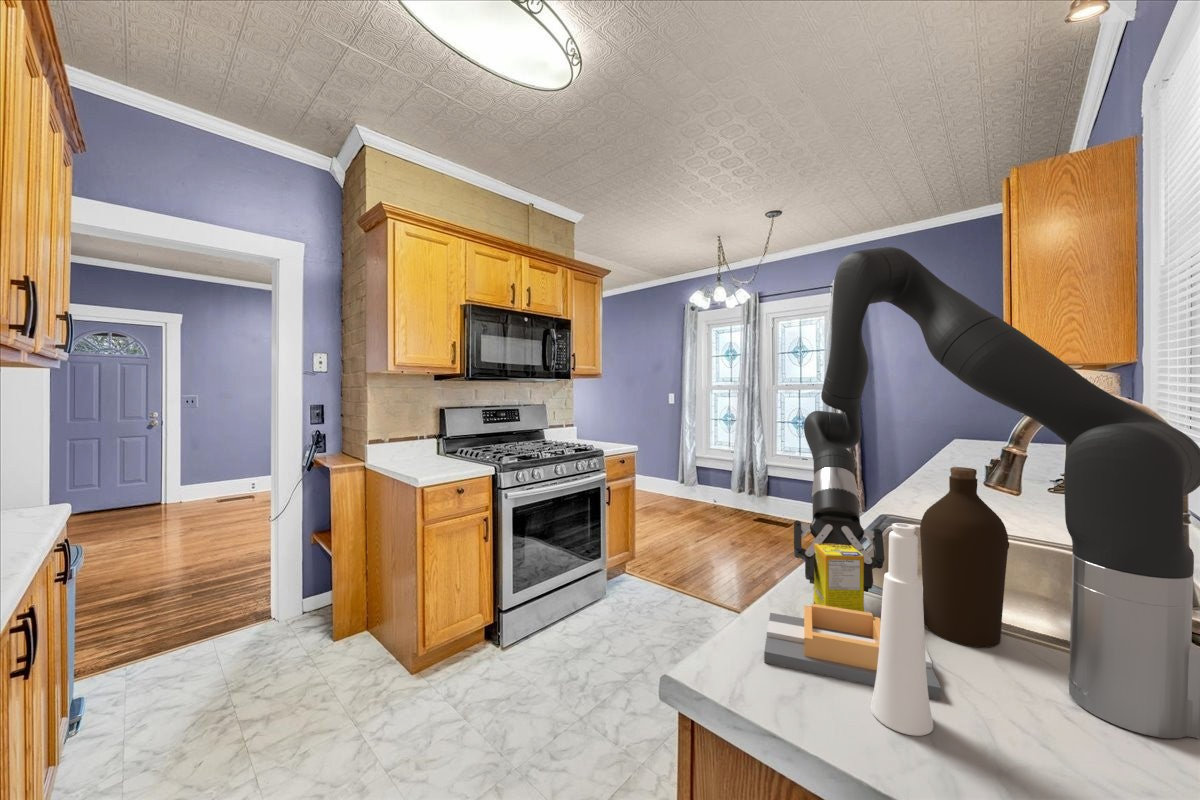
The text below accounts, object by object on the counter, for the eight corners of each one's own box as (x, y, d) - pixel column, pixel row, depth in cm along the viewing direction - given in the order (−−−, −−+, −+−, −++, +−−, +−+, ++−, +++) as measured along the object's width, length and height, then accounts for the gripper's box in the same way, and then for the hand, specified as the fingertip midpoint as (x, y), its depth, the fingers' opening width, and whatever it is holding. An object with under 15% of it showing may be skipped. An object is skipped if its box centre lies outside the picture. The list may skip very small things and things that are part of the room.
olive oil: (953, 651, 67) (956, 475, 66) (903, 615, 78) (905, 463, 77) (1026, 650, 67) (1030, 474, 66) (966, 614, 78) (969, 462, 77)
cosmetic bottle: (939, 743, 50) (943, 536, 49) (874, 727, 52) (876, 529, 52) (926, 707, 56) (928, 521, 55) (867, 694, 58) (869, 515, 57)
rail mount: (918, 648, 68) (918, 617, 68) (940, 700, 57) (941, 663, 57) (770, 621, 76) (770, 594, 76) (764, 662, 65) (764, 629, 65)
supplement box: (848, 606, 81) (849, 542, 80) (864, 623, 75) (865, 555, 75) (812, 604, 81) (812, 541, 81) (825, 622, 76) (825, 554, 75)
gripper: (792, 483, 87) (790, 568, 77) (882, 490, 82) (893, 582, 71) (792, 505, 92) (791, 588, 82) (877, 512, 87) (887, 602, 76)
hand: (838, 585), depth 77 cm, fingers closed on supplement box, 7 cm apart
